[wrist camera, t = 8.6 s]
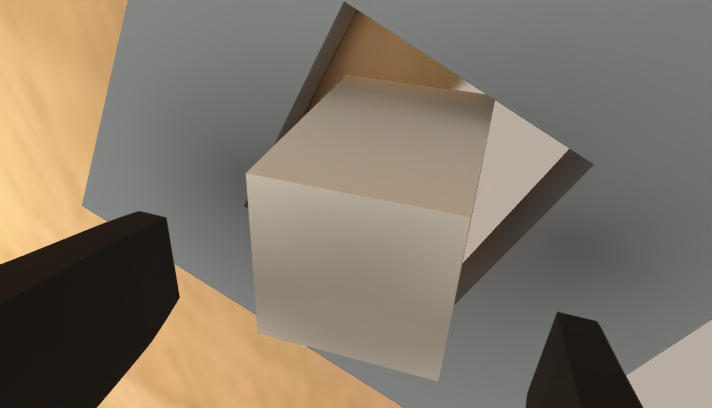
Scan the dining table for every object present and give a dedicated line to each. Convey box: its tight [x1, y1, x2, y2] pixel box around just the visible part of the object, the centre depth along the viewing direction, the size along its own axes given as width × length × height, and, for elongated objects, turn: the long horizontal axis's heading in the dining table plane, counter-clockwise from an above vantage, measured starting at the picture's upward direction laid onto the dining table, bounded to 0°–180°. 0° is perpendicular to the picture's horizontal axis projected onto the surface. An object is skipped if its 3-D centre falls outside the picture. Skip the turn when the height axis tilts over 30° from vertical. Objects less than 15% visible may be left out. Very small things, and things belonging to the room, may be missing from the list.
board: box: [82, 0, 712, 408], centre depth 14 cm, size 16×14×2 cm
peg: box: [246, 75, 495, 381], centre depth 12 cm, size 4×4×6 cm
